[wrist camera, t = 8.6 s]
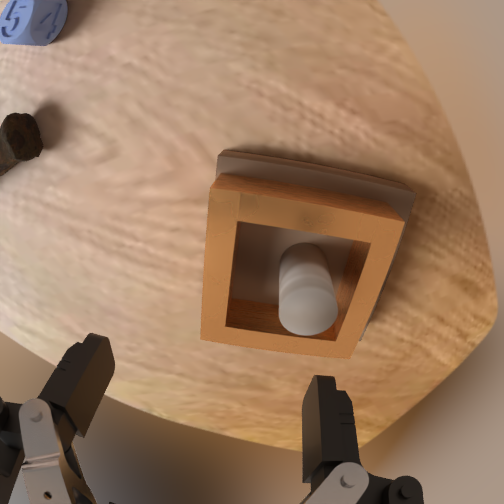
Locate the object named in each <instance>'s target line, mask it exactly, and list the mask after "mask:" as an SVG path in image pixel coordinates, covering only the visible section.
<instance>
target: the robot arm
mask: <svg viewBox="0 0 504 504" xmlns="http://www.w3.org/2000/svg"><path fill="white" fill-rule="evenodd" d="M114 370H115V361H114V357H113V353H112V349H111V345H110V341H109V339H108V337H105V336H101V335H97V334H94V333H89V334H88V335H87V337H86V338H85V340H84V341H83V343H79V342H77V343H75V344H74V345H73V346H71V347H70V348H69V349H68V350H67V351H66V353H65V354H64V356H63V357H62V360H61V361H60V362H59V364H58V365H57V368H56V369H55V370H54V372H53V373H52V375H51V377H50V378H49V380H48V381H47V383H46V385H45V387H44V388H43V390H42V392H41V393H40V395H39V396H38V397H37V398H36V399H30V400H28V401H26V402H25V403H23V404H17V403H10V402H4V401H3V400H2V398H1V397H0V504H8V503H9V499H10V496H11V493H12V490H13V488H14V484H15V482H16V479H17V476H18V473H19V471H20V468H21V466H22V472H23V477H24V481H25V485H26V489H27V493H28V497H29V500H30V504H97V502H96V500H95V497H94V495H93V493H92V491H91V489H90V488H89V486H88V485H87V483H86V481H85V478H84V475H83V472H82V469H81V466H80V463H79V460H78V457H77V454H76V450H75V447H74V443H73V438H74V436H75V434H76V435H78V436H80V437H83V438H84V437H85V435H86V432H87V430H88V428H89V426H90V423H91V421H92V419H93V417H94V414H95V412H96V410H97V408H98V406H99V404H100V401H101V399H102V397H103V395H104V393H105V391H106V389H107V387H108V385H109V382H110V380H111V378H112V376H113V374H114ZM353 414H354V413H353V406H352V401H351V399H350V398H349V396H348V395H347V393H346V391H341V390H337V389H336V381H335V378H334V377H333V376H322V375H314V376H313V378H312V381H311V383H310V385H309V387H308V390H307V392H306V394H305V396H304V400H303V405H302V446H303V483H311V492H310V493H309V494H308V495H307V496H306V497H305V498H304V499H303V501H302V502H301V503H300V504H424V500H423V491H422V486H421V484H420V483H419V481H418V480H417V479H415V478H413V477H410V476H401V477H398V478H397V479H395V480H391V479H386V478H382V477H378V476H374V475H372V474H370V473H368V472H367V471H366V470H365V469H364V468H363V466H362V465H361V462H360V459H359V451H358V443H357V435H356V427H355V420H354V416H353ZM25 457H26V462H25V463H23V460H24V458H25ZM22 463H23V464H22ZM109 504H114V503H112V502H109Z"/></svg>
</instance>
